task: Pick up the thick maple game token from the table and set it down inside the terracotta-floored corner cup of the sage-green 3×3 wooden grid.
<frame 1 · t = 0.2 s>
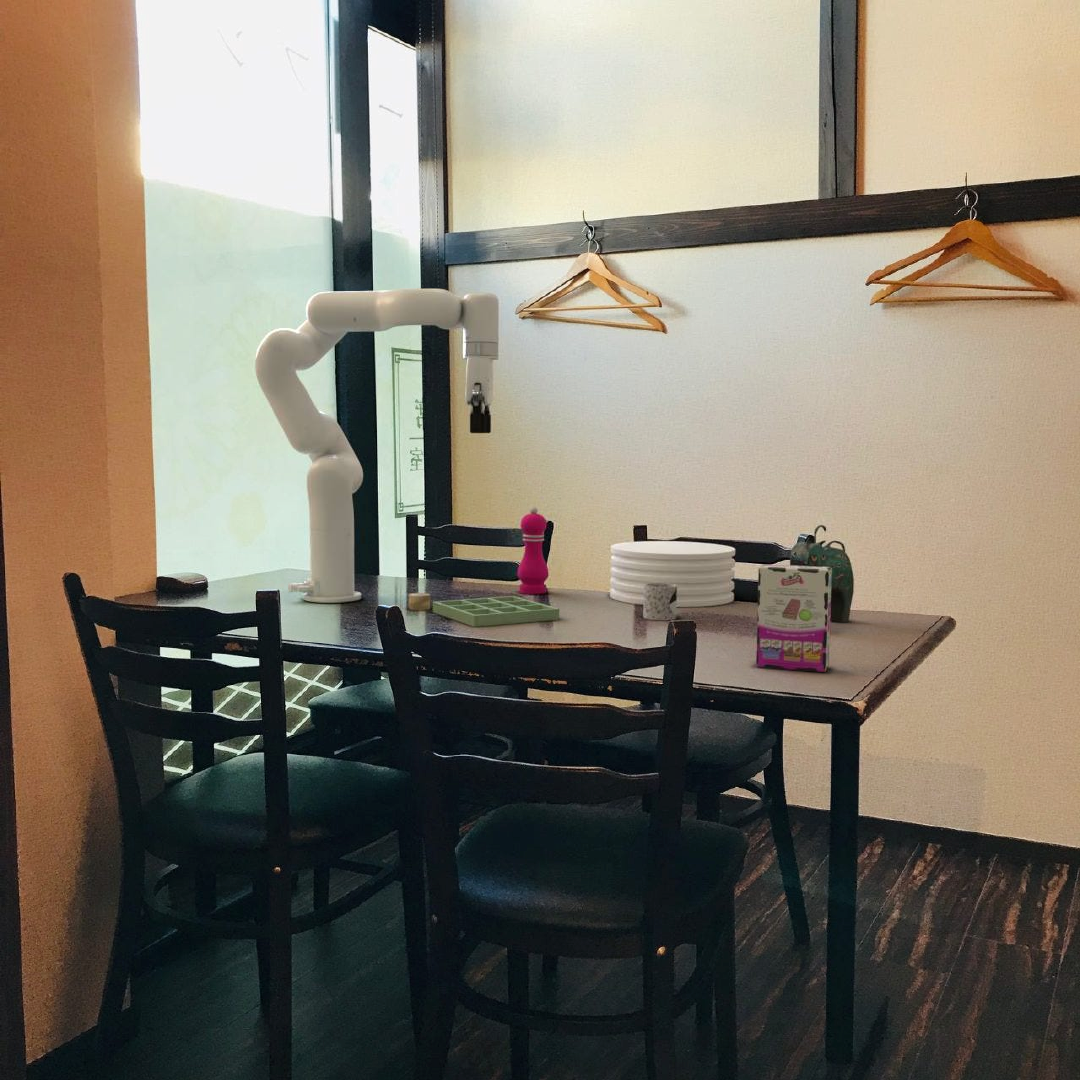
hand: (480, 433, 239), 37 cm above the table, tool pointing down, fingers open, 9 cm apart
grid: (495, 615, 226), on the table
mug: (659, 617, 228), on the table
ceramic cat: (819, 626, 219), on the table
plate stack: (671, 598, 254), on the table
pepper mill: (532, 593, 259), on the table
candy bar box: (792, 668, 180), on the table
token: (419, 608, 234), on the table
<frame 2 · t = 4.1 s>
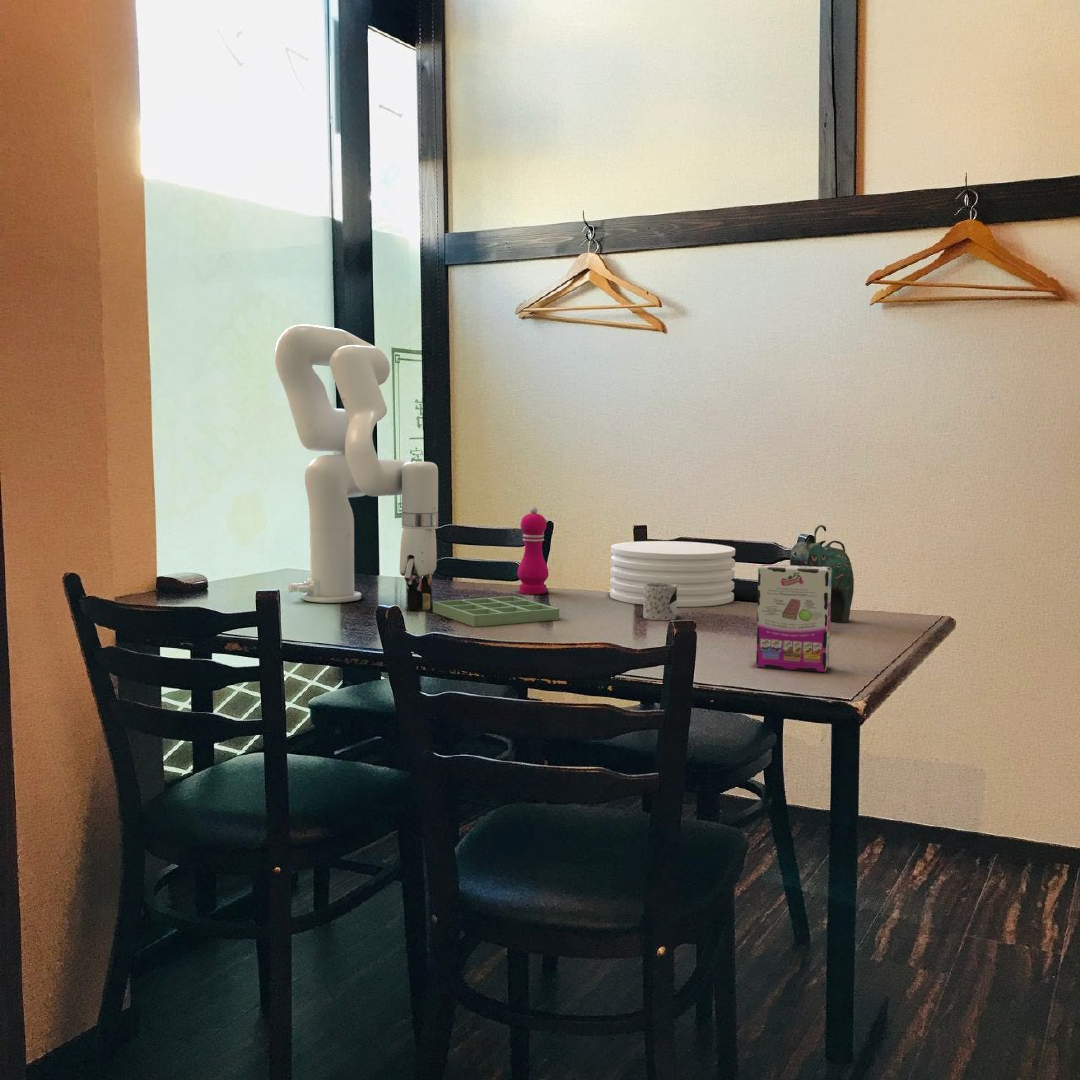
hand: (419, 606, 234), 0 cm above the table, tool pointing down, fingers closed on token, 4 cm apart
token: (419, 608, 234), on the table, touching gripper
everything else where it was.
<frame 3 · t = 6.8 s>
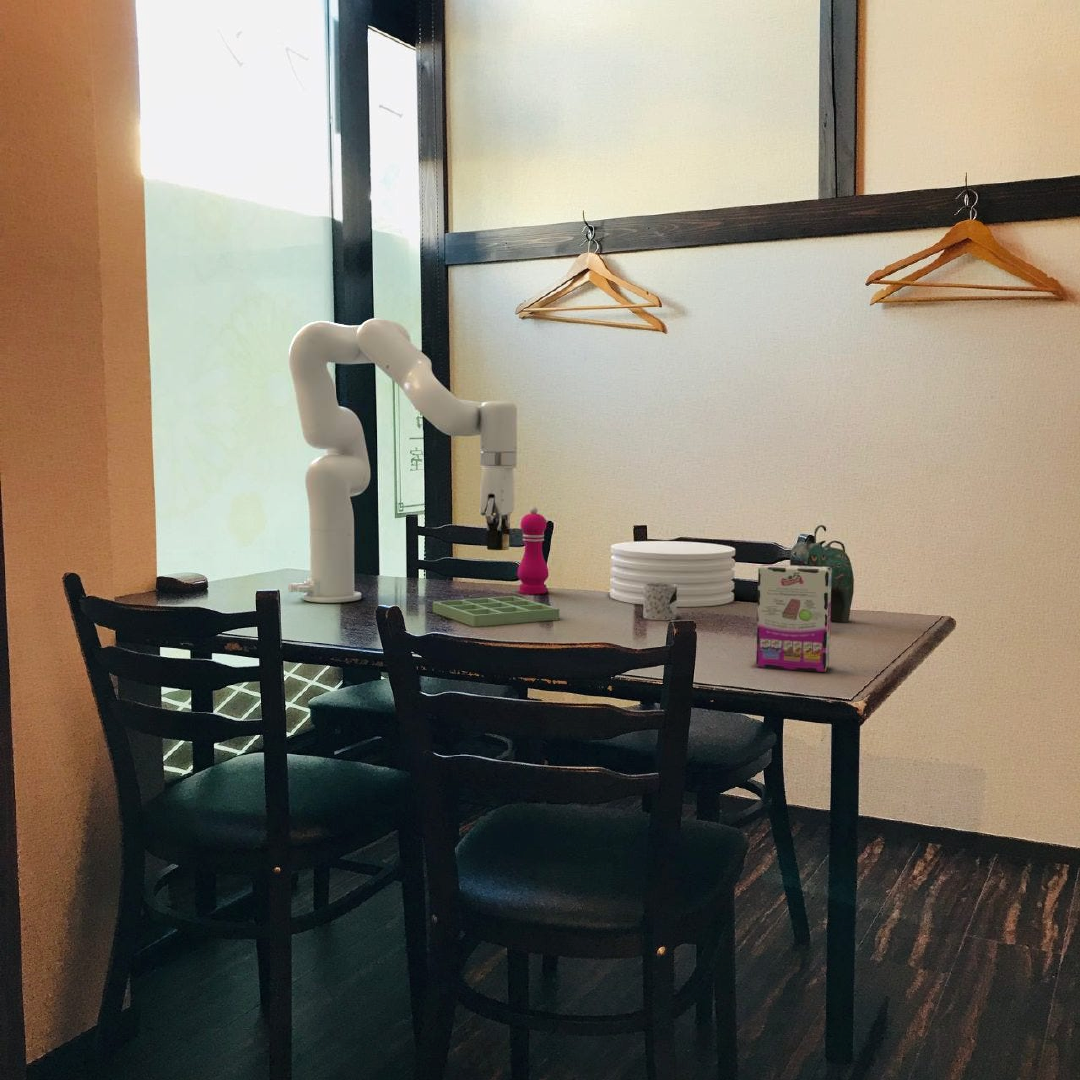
hand: (498, 547, 233), 13 cm above the table, tool pointing down, fingers closed on token, 4 cm apart
token: (498, 549, 233), point 13 cm above the table, touching gripper
everything else where it was.
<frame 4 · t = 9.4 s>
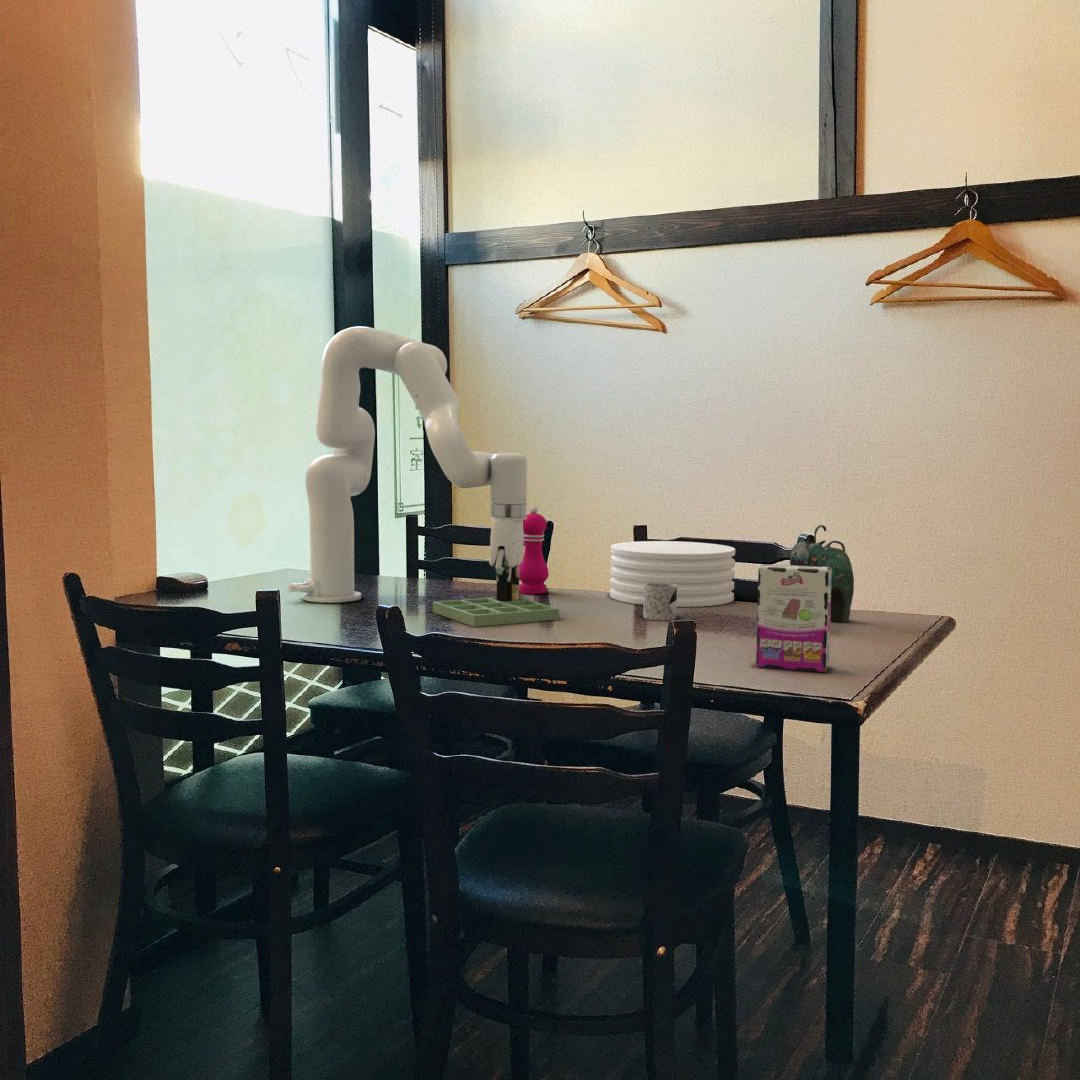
hand: (507, 598, 234), 2 cm above the table, tool pointing down, fingers closed on token, 4 cm apart
token: (508, 599, 234), point 2 cm above the table, touching gripper
everything else where it was.
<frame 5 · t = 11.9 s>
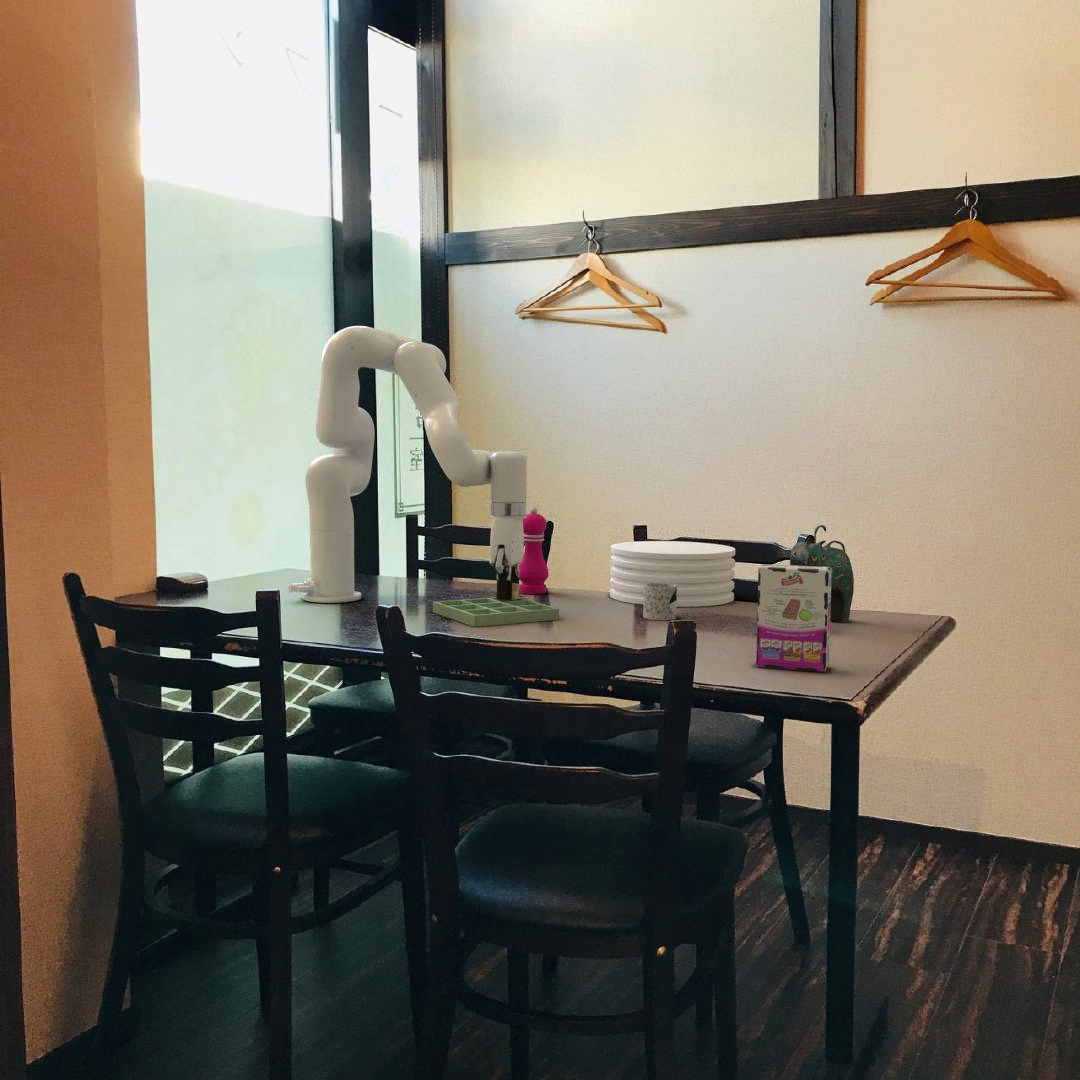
hand: (508, 596, 234), 3 cm above the table, tool pointing down, fingers closed on token, 4 cm apart
token: (508, 598, 234), point 2 cm above the table, touching gripper
everything else where it was.
when the fingers open (3 cm above the table, at t = 14.2 s): token drops 2 cm, resting on grid.
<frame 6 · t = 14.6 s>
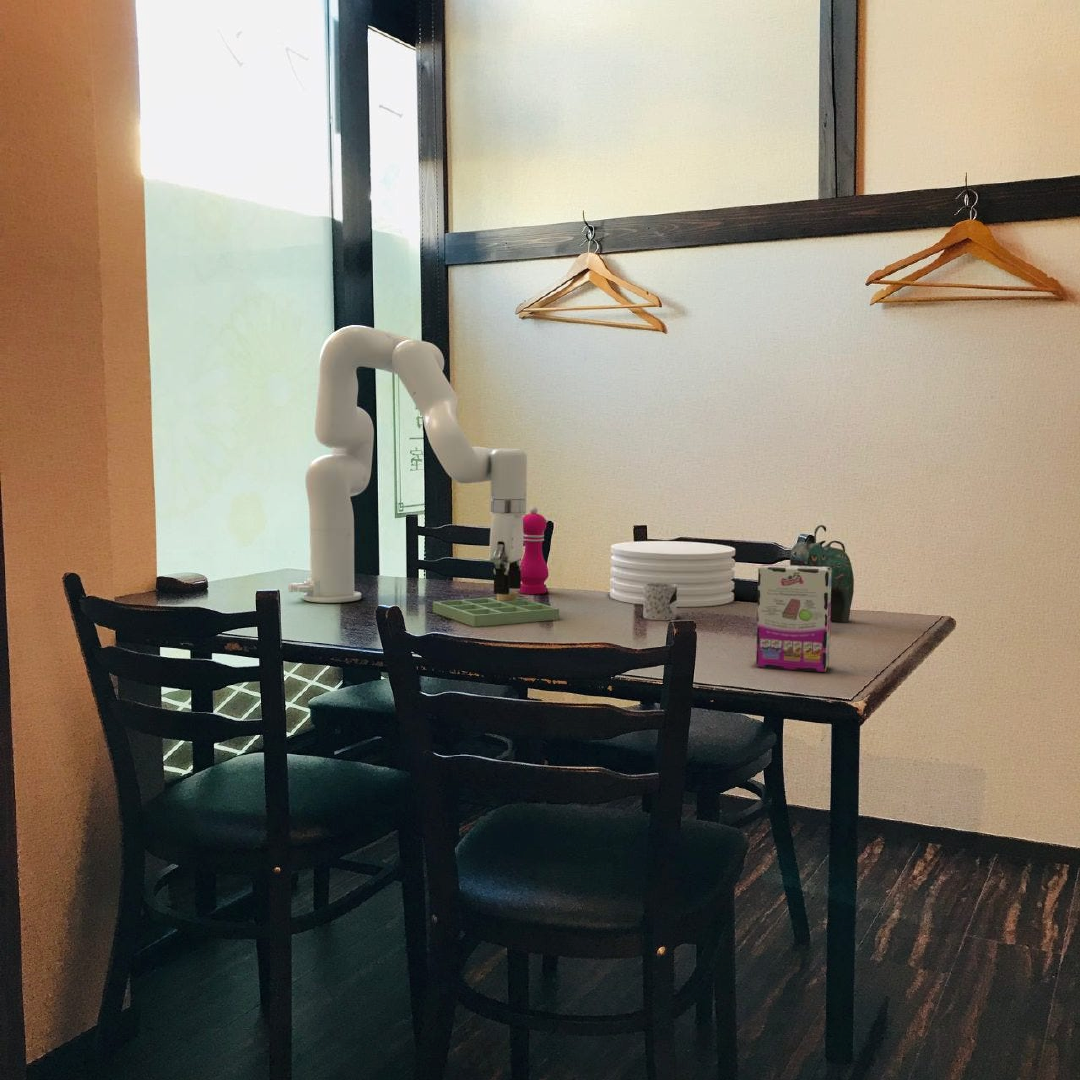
hand: (507, 590, 234), 4 cm above the table, tool pointing down, fingers open, 8 cm apart
token: (507, 606, 234), point 1 cm above the table, touching grid
everything else where it was.
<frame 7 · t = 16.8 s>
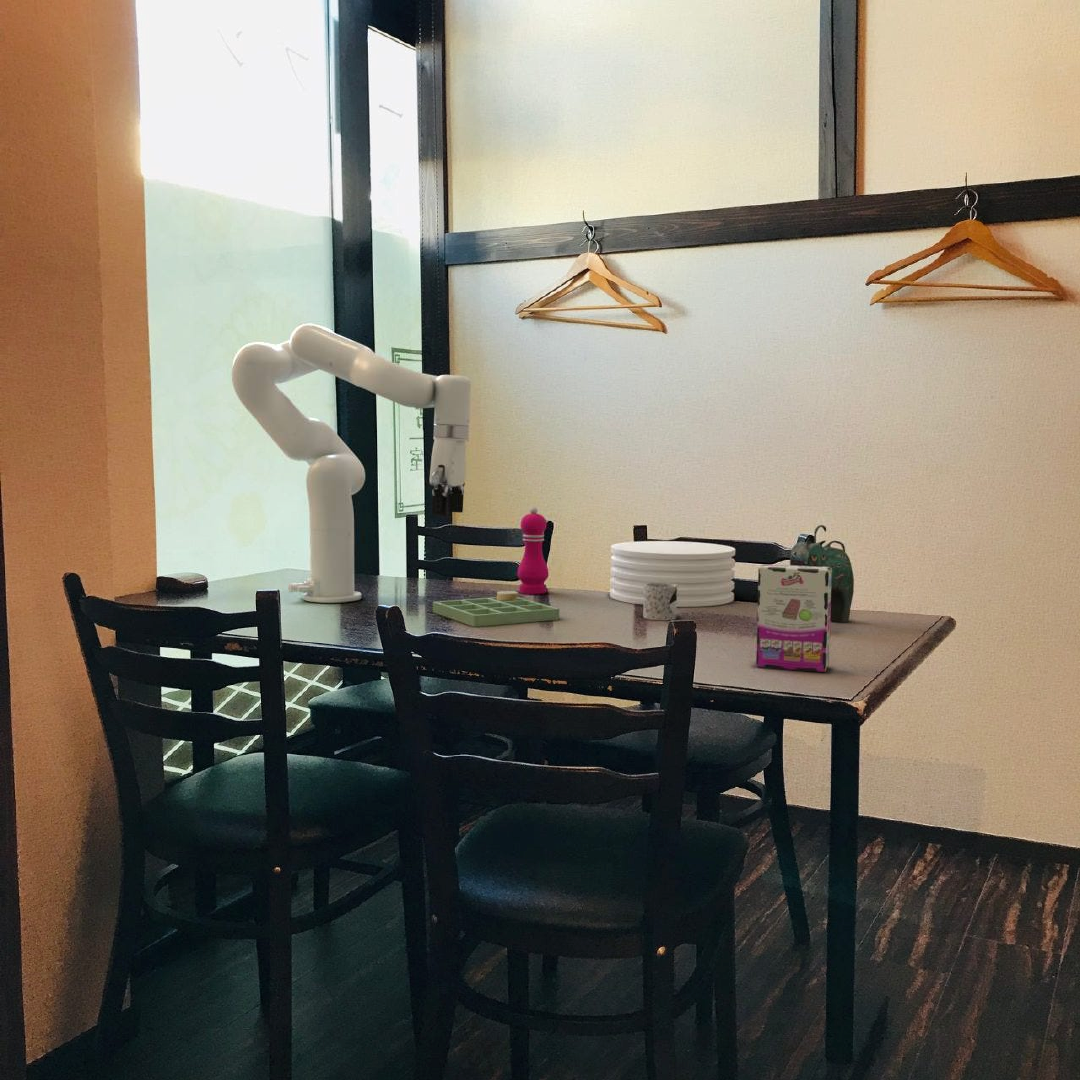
hand: (447, 513, 239), 20 cm above the table, tool pointing down, fingers open, 9 cm apart
nothing on the table moved.
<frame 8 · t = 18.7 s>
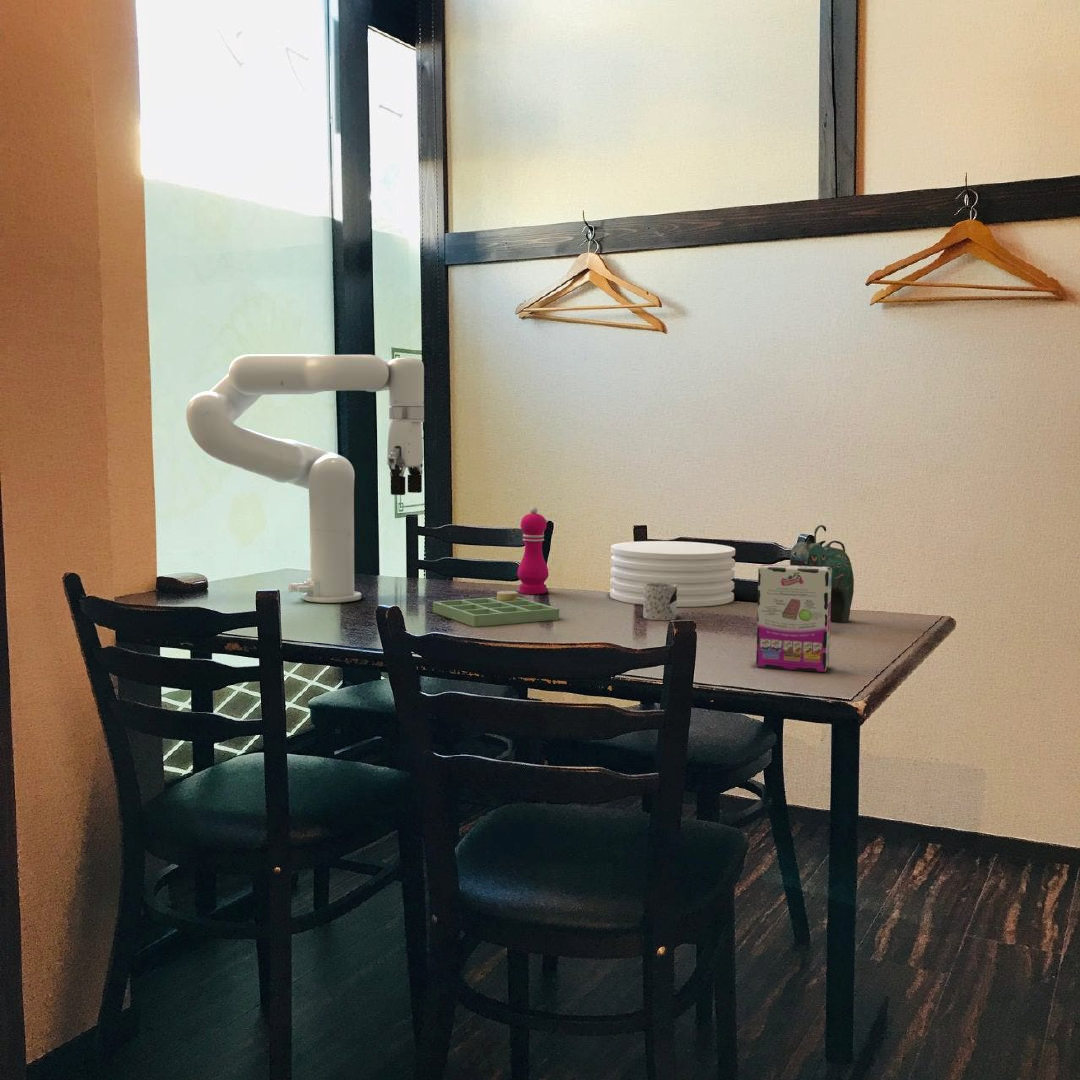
hand: (406, 493, 245), 23 cm above the table, tool pointing down, fingers open, 9 cm apart
nothing on the table moved.
at the end: token 0.0 cm from the target spot in the grid, point 0.6 cm above the grid's base; token tilted 0°; the gripper is holding nothing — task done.
